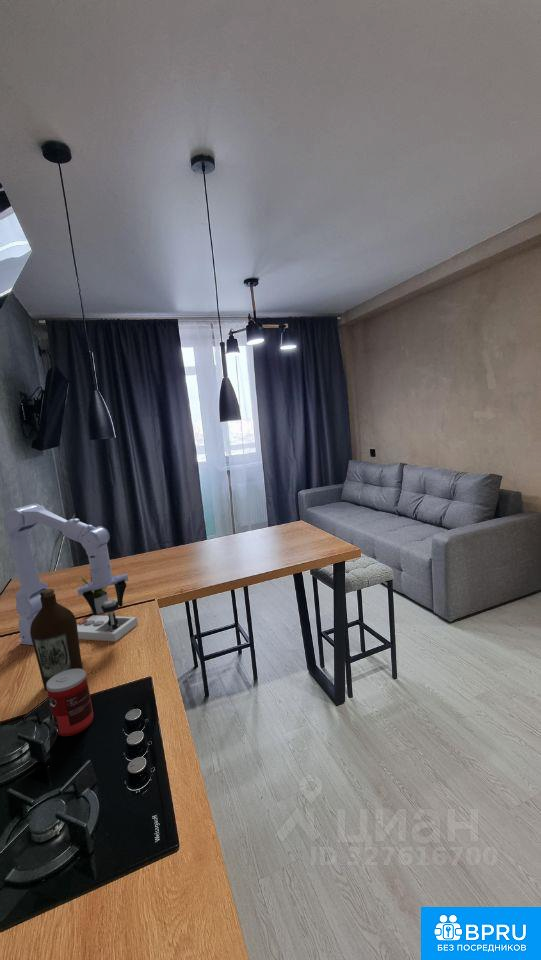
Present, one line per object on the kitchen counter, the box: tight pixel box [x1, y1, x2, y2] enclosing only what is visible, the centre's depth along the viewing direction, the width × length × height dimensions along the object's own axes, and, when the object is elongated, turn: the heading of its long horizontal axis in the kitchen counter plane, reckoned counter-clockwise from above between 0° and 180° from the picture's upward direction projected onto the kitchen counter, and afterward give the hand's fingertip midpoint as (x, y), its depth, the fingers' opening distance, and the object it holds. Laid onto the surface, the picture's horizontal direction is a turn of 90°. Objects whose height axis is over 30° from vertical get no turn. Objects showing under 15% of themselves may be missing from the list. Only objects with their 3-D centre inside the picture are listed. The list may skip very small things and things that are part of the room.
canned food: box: [46, 668, 94, 737], centre depth 92 cm, size 8×8×11 cm
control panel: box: [77, 614, 138, 642], centre depth 137 cm, size 18×11×3 cm, turn 71°
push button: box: [101, 599, 120, 632], centre depth 135 cm, size 7×5×10 cm
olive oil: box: [30, 588, 84, 692], centre depth 108 cm, size 11×11×25 cm
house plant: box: [76, 567, 116, 615], centre depth 153 cm, size 14×14×16 cm
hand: (107, 609), depth 130 cm, fingers open, 7 cm apart
